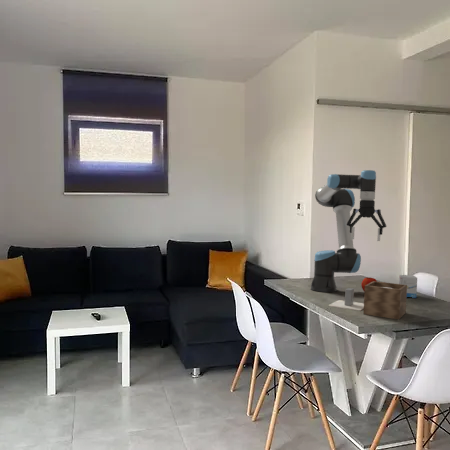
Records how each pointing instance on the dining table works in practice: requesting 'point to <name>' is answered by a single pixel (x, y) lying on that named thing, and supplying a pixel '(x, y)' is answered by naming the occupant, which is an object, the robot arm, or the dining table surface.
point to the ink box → (409, 284)
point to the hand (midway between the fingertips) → (365, 240)
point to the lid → (348, 301)
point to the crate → (385, 299)
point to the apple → (367, 282)
